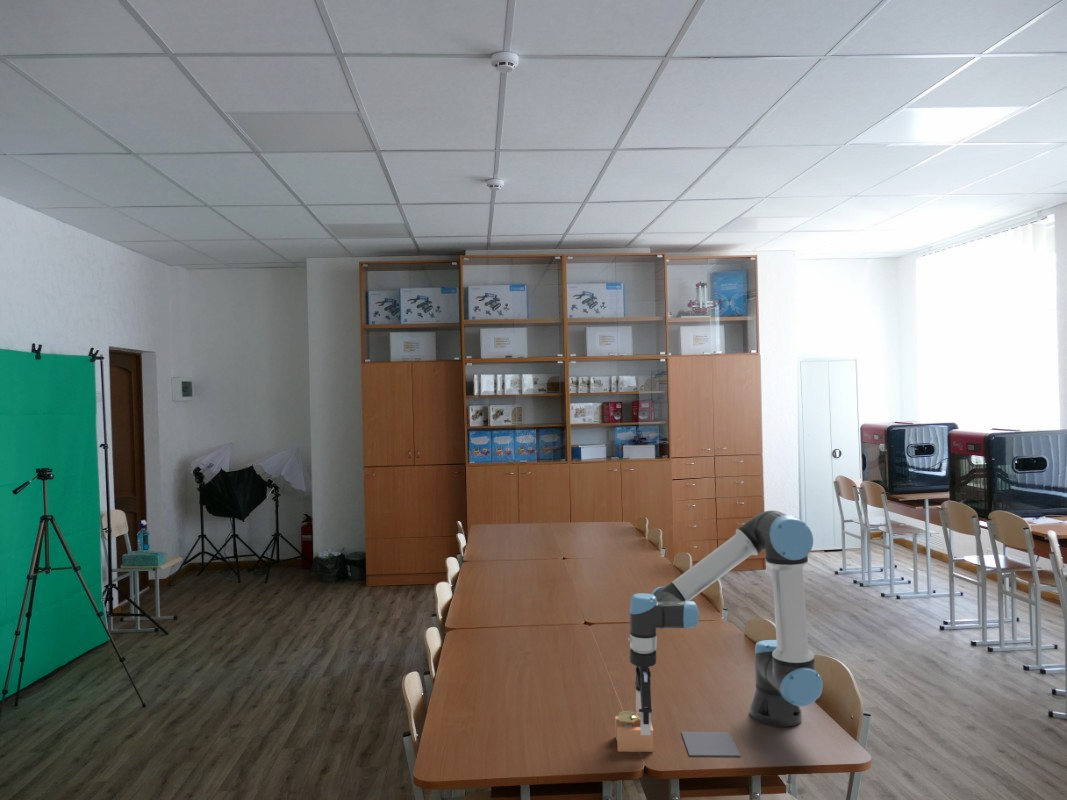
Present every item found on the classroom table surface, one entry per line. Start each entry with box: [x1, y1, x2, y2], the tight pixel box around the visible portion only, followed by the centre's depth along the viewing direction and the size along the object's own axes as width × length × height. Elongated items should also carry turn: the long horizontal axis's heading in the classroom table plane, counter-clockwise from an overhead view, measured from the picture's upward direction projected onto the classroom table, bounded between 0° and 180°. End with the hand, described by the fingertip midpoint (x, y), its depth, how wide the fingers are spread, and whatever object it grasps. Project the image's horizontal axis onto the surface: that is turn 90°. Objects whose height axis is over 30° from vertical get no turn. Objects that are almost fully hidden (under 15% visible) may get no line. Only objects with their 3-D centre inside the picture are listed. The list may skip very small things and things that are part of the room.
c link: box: [614, 715, 655, 753], centre depth 205 cm, size 10×9×6 cm
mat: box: [680, 731, 742, 758], centre depth 204 cm, size 14×14×1 cm
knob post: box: [617, 710, 640, 727], centre depth 205 cm, size 6×6×8 cm
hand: (643, 723), depth 204 cm, fingers open, 13 cm apart
